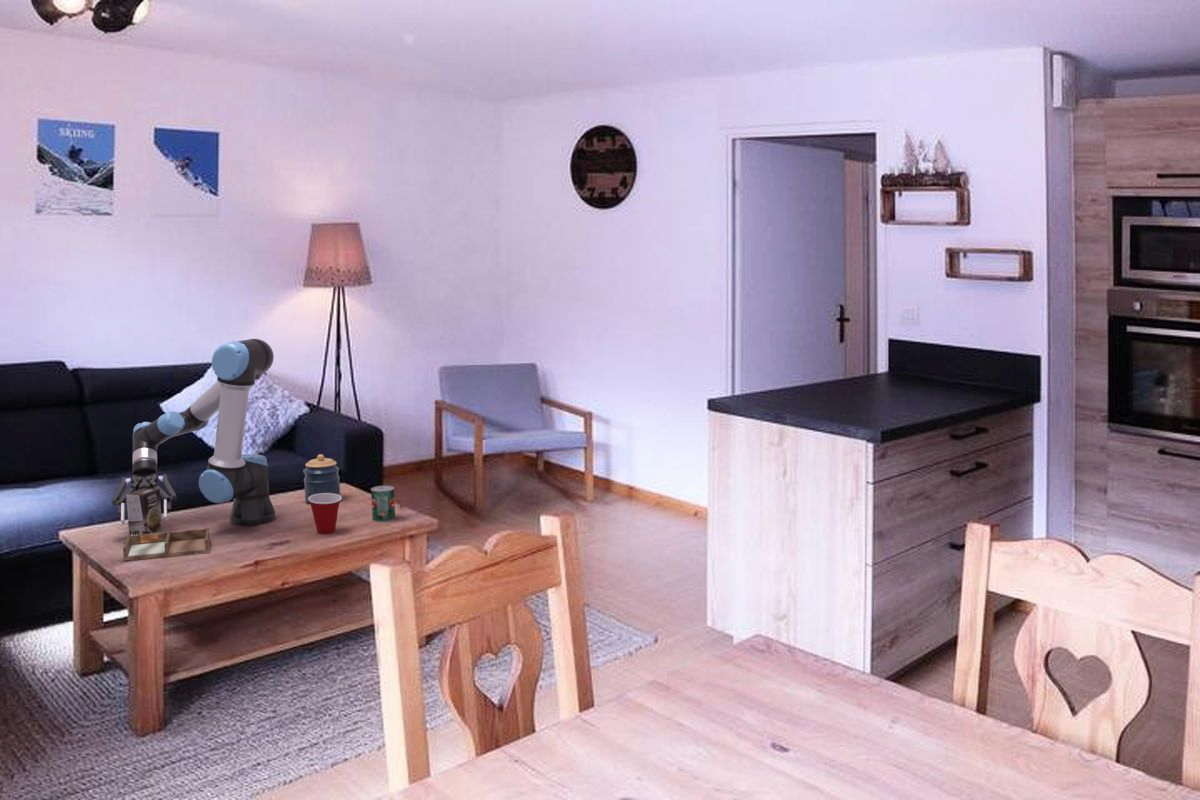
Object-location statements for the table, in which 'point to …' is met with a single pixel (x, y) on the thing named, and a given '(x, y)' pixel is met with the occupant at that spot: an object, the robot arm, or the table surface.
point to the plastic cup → (325, 511)
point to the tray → (166, 544)
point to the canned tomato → (383, 503)
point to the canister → (321, 477)
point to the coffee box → (144, 512)
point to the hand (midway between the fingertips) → (144, 520)
